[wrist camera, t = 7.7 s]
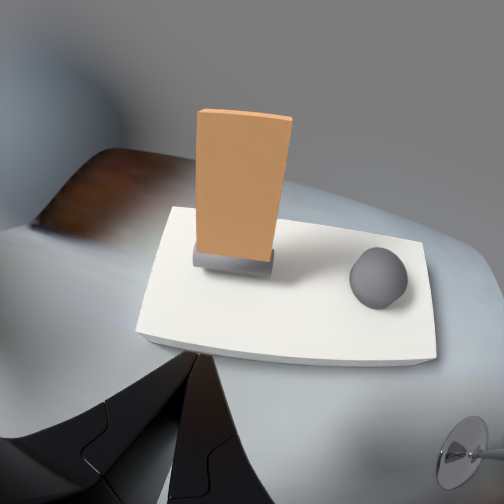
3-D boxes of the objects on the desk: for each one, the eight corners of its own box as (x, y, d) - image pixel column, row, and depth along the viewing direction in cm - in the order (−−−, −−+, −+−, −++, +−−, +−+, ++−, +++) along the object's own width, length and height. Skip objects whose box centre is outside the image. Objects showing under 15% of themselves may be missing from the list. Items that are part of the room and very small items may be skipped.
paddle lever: (269, 282, 15) (297, 122, 10) (193, 272, 15) (191, 112, 10) (270, 264, 17) (295, 117, 11) (199, 255, 17) (201, 108, 11)
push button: (399, 310, 15) (410, 302, 14) (350, 306, 15) (359, 298, 14) (394, 261, 17) (403, 251, 16) (347, 254, 17) (355, 243, 16)
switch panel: (412, 365, 16) (436, 357, 14) (150, 341, 17) (135, 331, 14) (404, 260, 21) (421, 242, 18) (179, 230, 21) (172, 206, 19)
